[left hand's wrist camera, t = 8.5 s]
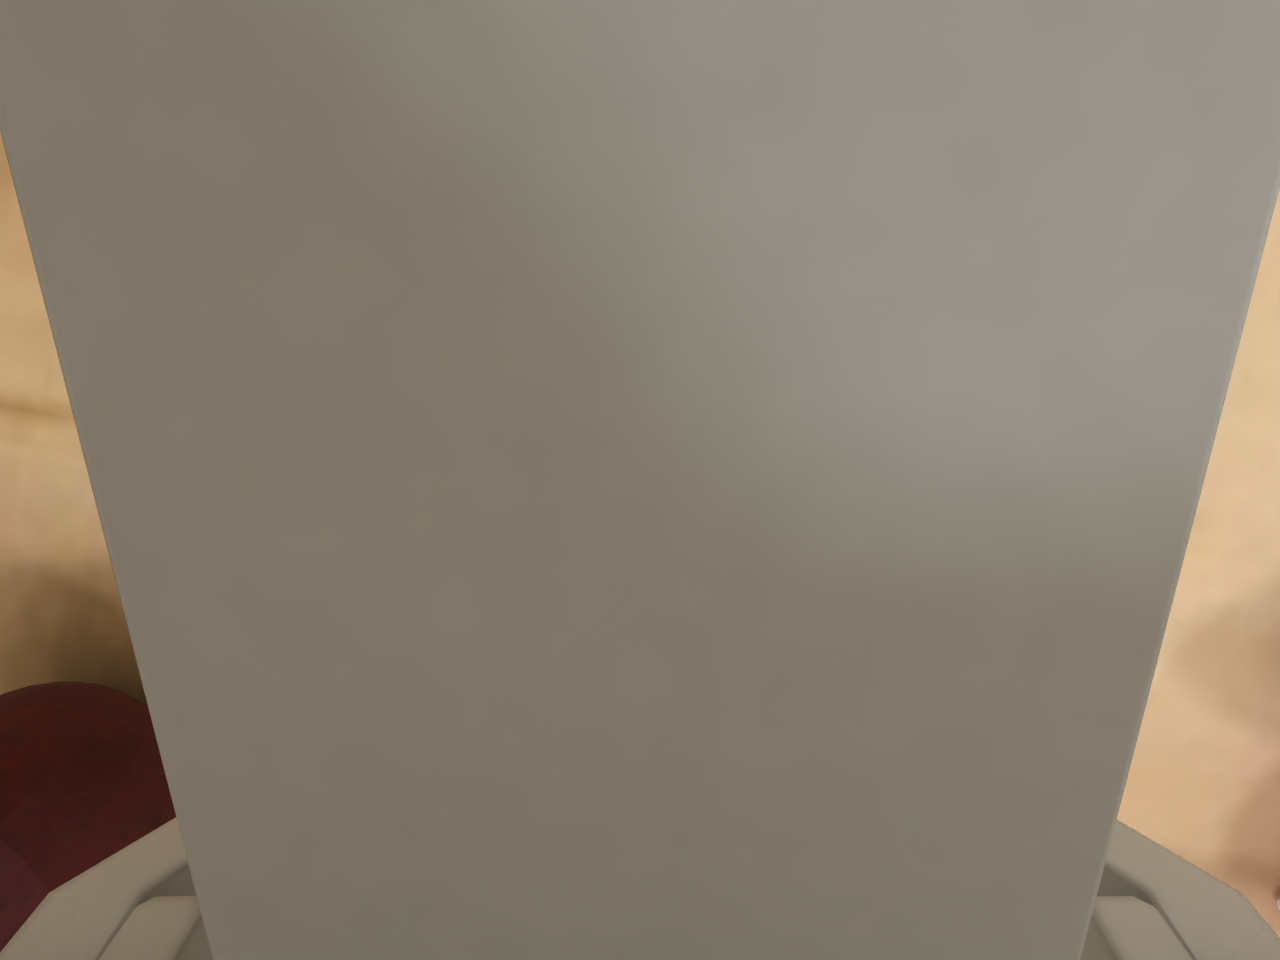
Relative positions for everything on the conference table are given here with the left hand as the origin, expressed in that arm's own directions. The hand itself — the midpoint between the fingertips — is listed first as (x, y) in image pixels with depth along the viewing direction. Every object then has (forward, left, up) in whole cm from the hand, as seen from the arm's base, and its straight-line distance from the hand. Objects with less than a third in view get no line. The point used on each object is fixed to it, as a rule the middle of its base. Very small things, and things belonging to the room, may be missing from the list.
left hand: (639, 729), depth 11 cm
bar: (+2, +7, -3) cm, 8 cm away
